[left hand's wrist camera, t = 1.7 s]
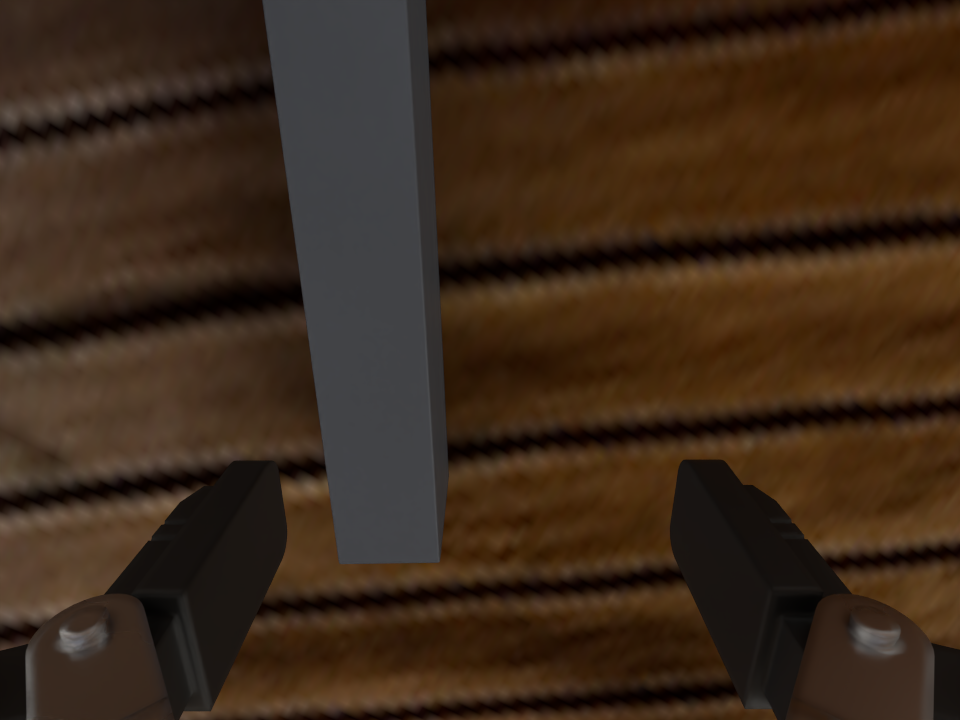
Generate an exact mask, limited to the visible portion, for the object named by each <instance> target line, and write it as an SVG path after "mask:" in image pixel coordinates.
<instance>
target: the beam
mask: <svg viewBox="0 0 960 720" xmlns="http://www.w3.org/2000/svg"><path fill="white" fill-rule="evenodd" d="M262 2H263V10H264V17H265V24H266V32H267V39H268V46H269V54H270V61H271V68H272V76H273V83H274V90H275V97H276V105H277V112H278V119H279V127H280V134H281V141H282V149H283V156H284V163H285V171H286V178H287V185H288V193H289V200H290V207H291V215H292V222H293V229H294V237H295V244H296V251H297V259H298V266H299V273H300V281H301V288H302V295H303V302H304V310H305V317H306V324H307V332H308V339H309V346H310V354H311V361H312V368H313V376H314V383H315V390H316V398H317V405H318V412H319V420H320V427H321V434H322V442H323V449H324V456H325V464H326V471H327V478H328V485H329V493H330V500H331V507H332V515H333V522H334V529H335V537H336V544H337V551H338V559H339V563H340V564H370V563H438V562H439V561H440V555H441V545H442V536H443V526H444V516H445V507H446V497H447V487H448V478H449V472H448V452H447V431H446V411H445V390H444V369H443V349H442V328H441V308H440V287H439V266H438V246H437V225H436V205H435V184H434V163H433V143H432V122H431V102H430V81H429V60H428V40H427V19H426V0H262Z"/></svg>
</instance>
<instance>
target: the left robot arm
mask: <svg viewBox="0 0 960 720" xmlns="http://www.w3.org/2000/svg"><path fill="white" fill-rule="evenodd" d="M670 539H671V546H672V551H673V554H674V557H675V559H676V561H677V564H678V566H679V568H680V570H681V572H682V574H683V577H684V579H685V581H686V583H687V585H688V587H689V589H690V592H691V594H692V596H693V598H694V600H695V602H696V605H697V607H698V609H699V611H700V613H701V615H702V617H703V620H704V622H705V624H706V626H707V628H708V630H709V633H710V635H711V637H712V639H713V641H714V643H715V646H716V648H717V650H718V652H719V654H720V656H721V658H722V661H723V663H724V665H725V667H726V669H727V671H728V674H729V676H730V678H731V680H732V682H733V684H734V686H735V689H736V691H737V693H738V695H739V697H740V699H741V702H742V704H743V706H744V708H745V709H772V710H773V712H774V714H775V716H776V718H777V720H960V650H958V649H954V648H950V647H946V646H941V645H937V644H933V643H931V642H930V641H929V639H928V638H927V636H926V635H925V634H924V632H923V631H922V630H921V629H920V628H919V627H918V626H917V625H916V624H915V623H914V622H913V621H911V620H910V619H909V618H907V617H906V616H905V615H903V614H902V613H900V612H898V611H897V610H895V609H893V608H891V607H890V606H888V605H886V604H883V603H881V602H879V601H876V600H873V599H870V598H867V597H864V596H859V595H854V594H852V593H851V592H850V591H849V590H848V589H847V587H846V586H845V585H844V584H843V582H842V581H841V580H840V579H839V577H838V576H837V575H836V574H835V573H834V571H833V570H832V569H831V568H830V566H829V565H828V564H827V563H826V562H825V560H824V559H823V558H822V557H821V555H820V554H819V553H818V552H817V551H816V549H815V548H814V547H813V546H812V544H811V543H810V542H809V541H808V539H804V535H803V533H802V532H801V531H800V530H799V528H798V527H797V526H796V525H795V524H794V523H792V522H791V519H790V517H789V516H788V515H787V514H786V513H785V511H784V510H783V509H782V508H781V506H780V505H779V504H778V503H777V501H775V500H774V499H772V498H771V497H769V496H768V495H766V494H765V493H763V492H762V491H760V490H759V489H757V488H756V487H754V486H753V485H743V484H742V483H741V482H740V480H739V479H738V478H737V476H736V475H735V474H734V473H733V471H732V470H731V469H730V467H729V466H728V465H727V463H726V462H725V461H723V460H683V461H682V462H681V464H680V466H679V470H678V476H677V482H676V489H675V496H674V503H673V510H672V516H671V524H670ZM286 541H287V524H286V517H285V510H284V504H283V497H282V490H281V484H280V477H279V471H278V467H277V465H276V463H275V462H274V461H233V462H232V463H231V464H230V465H229V466H228V468H227V469H226V470H225V472H224V473H223V474H222V476H221V477H220V478H219V479H218V481H217V482H216V483H215V485H214V486H204V487H202V488H201V489H199V490H198V491H196V492H195V493H193V494H192V495H190V496H189V497H187V498H186V499H184V500H183V501H181V502H180V503H179V504H178V506H177V507H176V508H175V509H174V510H173V512H172V513H171V514H170V515H169V516H168V518H167V519H166V520H165V524H164V525H161V526H160V527H159V529H158V530H157V531H156V532H155V533H154V535H153V536H152V540H151V541H148V542H147V543H146V544H145V546H144V547H143V548H142V549H141V550H140V552H139V553H138V554H137V555H136V557H135V558H134V559H133V560H132V561H131V563H130V564H129V565H128V566H127V567H126V569H125V570H124V571H123V572H122V574H121V575H120V576H119V577H118V578H117V580H116V581H115V582H114V583H113V584H112V586H111V587H110V588H109V589H108V591H107V592H106V593H105V594H104V595H101V596H96V597H93V598H90V599H87V600H84V601H81V602H79V603H77V604H74V605H72V606H70V607H69V608H67V609H65V610H63V611H62V612H60V613H58V614H57V615H55V616H54V617H53V618H51V619H50V620H49V621H47V622H46V623H45V624H44V625H43V626H42V627H41V628H40V629H39V630H38V631H37V632H36V634H35V635H34V636H33V638H32V639H31V641H30V642H29V644H26V645H22V646H18V647H14V648H10V649H6V650H2V651H0V720H179V719H180V717H181V715H182V713H183V711H211V710H212V707H213V705H214V703H215V701H216V699H217V697H218V695H219V693H220V690H221V688H222V686H223V684H224V682H225V680H226V678H227V676H228V673H229V671H230V669H231V667H232V665H233V663H234V661H235V658H236V656H237V654H238V652H239V650H240V648H241V646H242V644H243V641H244V639H245V637H246V635H247V633H248V631H249V629H250V627H251V624H252V622H253V620H254V618H255V616H256V614H257V612H258V610H259V607H260V605H261V603H262V601H263V599H264V597H265V595H266V593H267V590H268V588H269V586H270V584H271V582H272V580H273V578H274V575H275V573H276V571H277V569H278V567H279V565H280V563H281V561H282V558H283V555H284V552H285V548H286Z"/></svg>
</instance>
